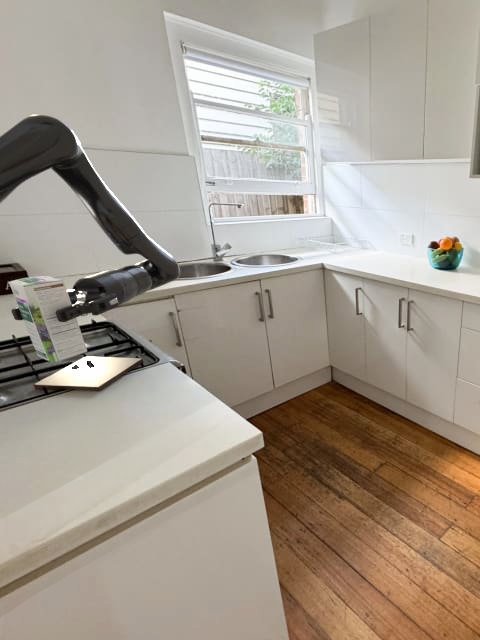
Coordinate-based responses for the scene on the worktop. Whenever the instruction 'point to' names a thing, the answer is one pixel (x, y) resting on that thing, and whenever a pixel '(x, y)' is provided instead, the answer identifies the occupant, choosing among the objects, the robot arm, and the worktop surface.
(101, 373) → the walnut board
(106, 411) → the worktop surface
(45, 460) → the worktop surface
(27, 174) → the robot arm
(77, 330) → the syrup box
